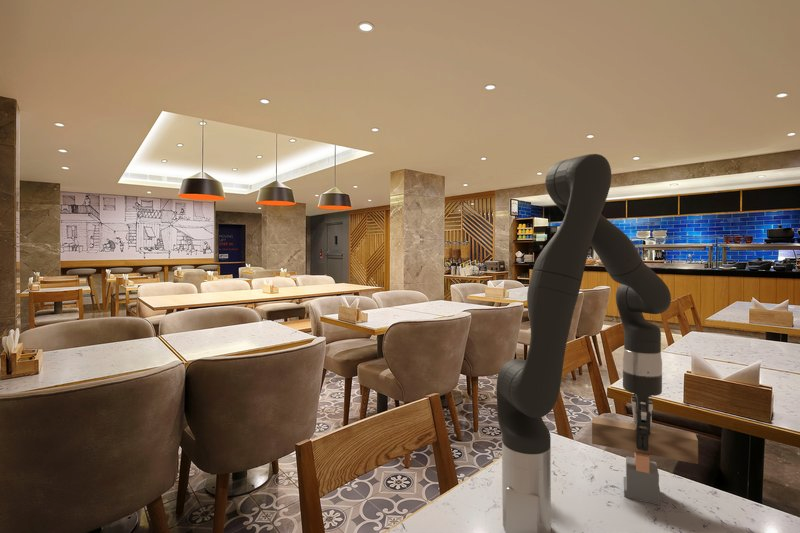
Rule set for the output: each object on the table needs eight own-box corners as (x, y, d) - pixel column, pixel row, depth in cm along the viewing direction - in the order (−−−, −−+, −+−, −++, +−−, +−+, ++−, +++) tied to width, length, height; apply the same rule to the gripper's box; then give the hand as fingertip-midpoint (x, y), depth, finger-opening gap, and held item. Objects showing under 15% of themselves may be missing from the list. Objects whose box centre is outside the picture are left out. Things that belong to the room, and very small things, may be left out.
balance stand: (661, 505, 86) (661, 460, 85) (624, 496, 89) (624, 452, 89) (658, 490, 91) (658, 447, 91) (623, 482, 94) (623, 441, 94)
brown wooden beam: (694, 456, 86) (695, 433, 86) (697, 464, 83) (698, 440, 83) (592, 437, 96) (592, 417, 96) (592, 443, 93) (591, 422, 93)
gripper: (665, 381, 81) (665, 464, 82) (658, 363, 93) (658, 436, 94) (623, 376, 84) (623, 456, 85) (622, 360, 97) (621, 429, 98)
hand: (641, 445), depth 90 cm, fingers closed on brown wooden beam, 3 cm apart
